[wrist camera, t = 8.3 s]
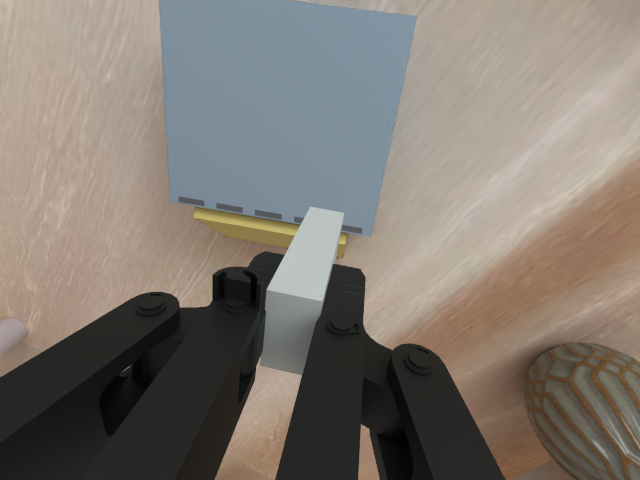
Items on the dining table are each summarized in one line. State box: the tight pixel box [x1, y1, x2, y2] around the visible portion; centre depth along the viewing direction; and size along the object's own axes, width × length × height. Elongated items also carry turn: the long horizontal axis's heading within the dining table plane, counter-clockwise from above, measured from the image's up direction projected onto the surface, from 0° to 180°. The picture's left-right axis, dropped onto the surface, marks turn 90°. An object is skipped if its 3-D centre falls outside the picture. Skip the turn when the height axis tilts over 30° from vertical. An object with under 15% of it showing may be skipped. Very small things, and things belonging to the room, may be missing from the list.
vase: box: [524, 343, 640, 480], centre depth 34 cm, size 13×13×18 cm
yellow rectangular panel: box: [193, 207, 347, 258], centre depth 35 cm, size 10×14×1 cm
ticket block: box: [159, 0, 417, 237], centre depth 30 cm, size 16×18×9 cm
